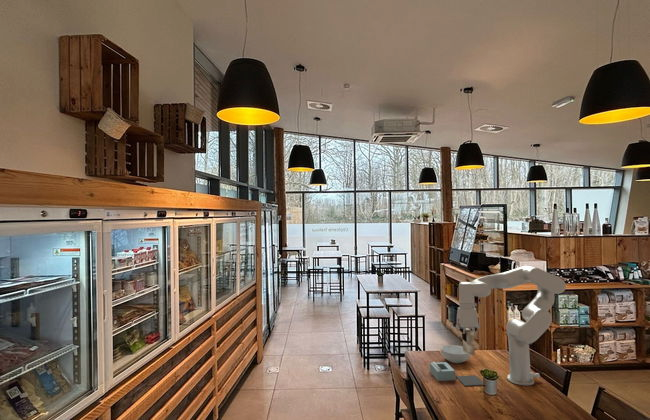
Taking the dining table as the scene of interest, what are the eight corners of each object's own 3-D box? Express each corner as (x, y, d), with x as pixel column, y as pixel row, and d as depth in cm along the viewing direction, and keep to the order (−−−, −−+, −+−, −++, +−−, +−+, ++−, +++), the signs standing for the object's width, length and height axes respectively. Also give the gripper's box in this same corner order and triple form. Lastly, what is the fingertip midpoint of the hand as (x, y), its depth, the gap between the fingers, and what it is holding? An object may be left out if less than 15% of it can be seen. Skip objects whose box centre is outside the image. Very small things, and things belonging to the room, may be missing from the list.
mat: (475, 376, 192) (475, 375, 192) (485, 385, 181) (485, 384, 181) (455, 377, 191) (455, 376, 191) (464, 386, 180) (464, 385, 180)
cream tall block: (469, 350, 190) (468, 328, 191) (474, 355, 184) (473, 331, 184) (463, 351, 190) (462, 328, 190) (468, 355, 183) (467, 332, 184)
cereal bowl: (472, 367, 204) (471, 355, 204) (442, 365, 208) (441, 353, 208) (468, 356, 220) (468, 345, 221) (440, 354, 225) (440, 343, 225)
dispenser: (446, 371, 200) (446, 360, 200) (455, 380, 188) (454, 369, 188) (430, 371, 199) (429, 361, 199) (437, 381, 187) (437, 370, 188)
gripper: (478, 303, 192) (480, 337, 191) (449, 304, 191) (450, 338, 190) (485, 306, 185) (487, 342, 184) (454, 307, 184) (456, 343, 183)
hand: (468, 340), depth 187 cm, fingers closed on cream tall block, 3 cm apart
